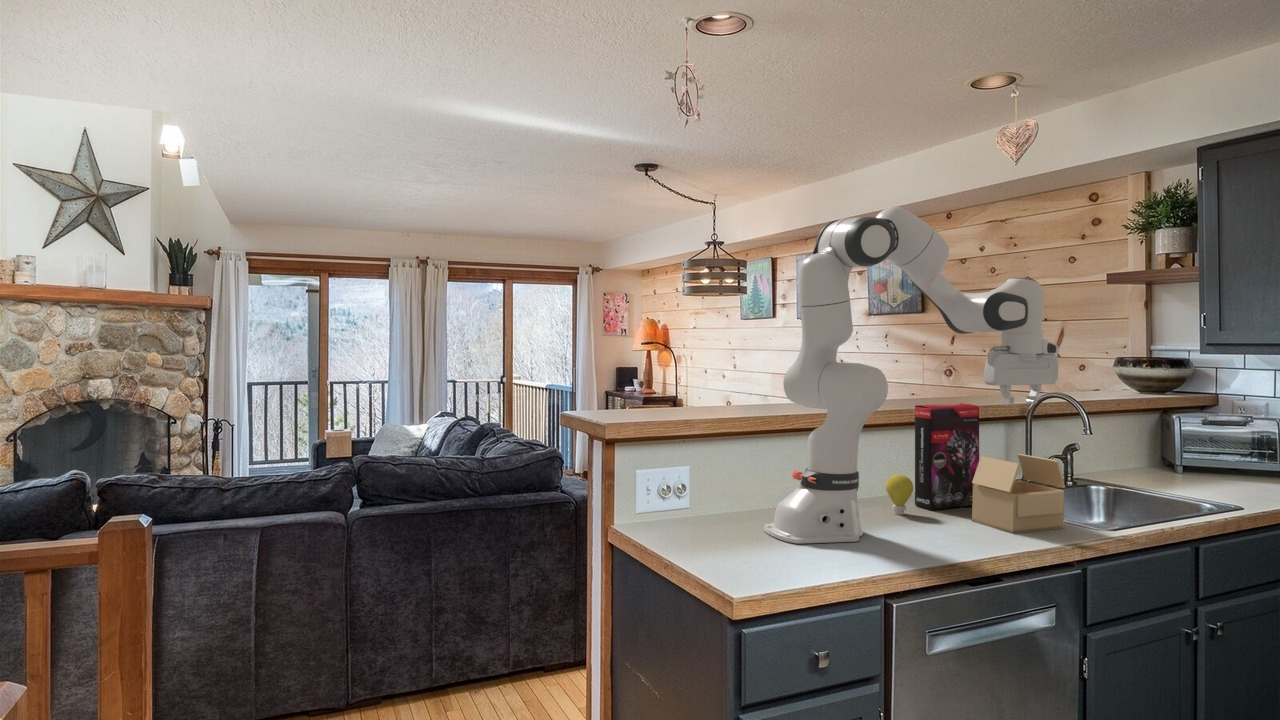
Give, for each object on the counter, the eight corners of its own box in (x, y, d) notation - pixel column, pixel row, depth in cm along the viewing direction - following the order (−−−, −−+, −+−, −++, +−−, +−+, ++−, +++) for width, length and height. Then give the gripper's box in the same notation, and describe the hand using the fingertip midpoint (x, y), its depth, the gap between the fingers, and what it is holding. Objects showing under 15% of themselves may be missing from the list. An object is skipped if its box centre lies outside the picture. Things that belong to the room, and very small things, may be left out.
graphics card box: (930, 511, 188) (933, 406, 187) (911, 505, 195) (913, 404, 194) (980, 506, 195) (982, 404, 194) (959, 501, 201) (962, 402, 200)
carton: (1015, 534, 167) (1016, 495, 166) (969, 520, 179) (970, 484, 179) (1065, 528, 172) (1066, 490, 172) (1018, 515, 185) (1019, 480, 184)
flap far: (1063, 488, 173) (1056, 461, 172) (1024, 479, 183) (1017, 454, 182) (1065, 487, 173) (1057, 460, 172) (1026, 478, 184) (1018, 453, 183)
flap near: (973, 483, 178) (982, 456, 178) (1010, 492, 167) (1020, 464, 168) (971, 482, 177) (980, 455, 178) (1009, 492, 167) (1018, 463, 168)
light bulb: (901, 509, 190) (902, 471, 189) (918, 515, 183) (919, 476, 183) (879, 511, 188) (880, 472, 187) (896, 517, 181) (897, 477, 181)
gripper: (999, 346, 168) (997, 406, 168) (1064, 346, 175) (1062, 404, 175) (977, 345, 174) (976, 403, 174) (1041, 346, 181) (1039, 401, 181)
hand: (1020, 403), depth 175 cm, fingers open, 6 cm apart
